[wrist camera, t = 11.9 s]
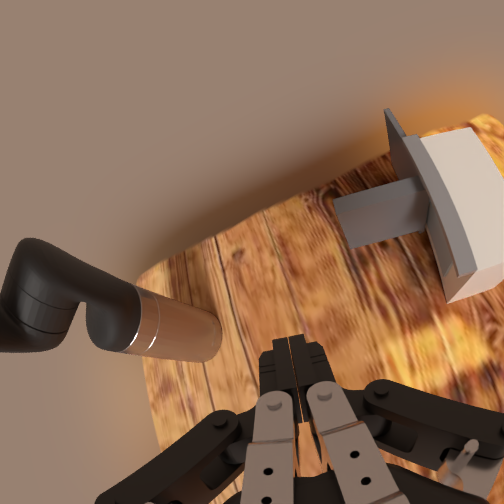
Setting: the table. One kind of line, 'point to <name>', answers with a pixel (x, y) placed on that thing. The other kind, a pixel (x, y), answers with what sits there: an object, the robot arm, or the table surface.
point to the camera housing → (462, 210)
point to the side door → (386, 200)
